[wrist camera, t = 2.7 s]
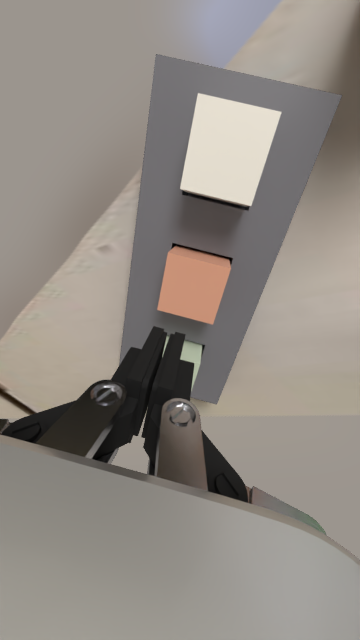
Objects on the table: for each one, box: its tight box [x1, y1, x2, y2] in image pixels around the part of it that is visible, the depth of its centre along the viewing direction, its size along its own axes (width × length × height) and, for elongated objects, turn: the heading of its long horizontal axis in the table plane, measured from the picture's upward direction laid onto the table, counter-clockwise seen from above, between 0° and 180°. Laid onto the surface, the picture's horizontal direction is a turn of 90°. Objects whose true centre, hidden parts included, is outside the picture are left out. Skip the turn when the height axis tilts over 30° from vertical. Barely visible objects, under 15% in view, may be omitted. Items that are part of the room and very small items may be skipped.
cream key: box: [180, 93, 281, 207], centre depth 19 cm, size 6×6×5 cm
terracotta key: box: [157, 245, 231, 324], centre depth 23 cm, size 6×6×5 cm
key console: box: [119, 54, 342, 404], centre depth 26 cm, size 14×32×4 cm, turn 167°
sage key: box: [162, 335, 203, 391], centre depth 28 cm, size 6×6×5 cm
